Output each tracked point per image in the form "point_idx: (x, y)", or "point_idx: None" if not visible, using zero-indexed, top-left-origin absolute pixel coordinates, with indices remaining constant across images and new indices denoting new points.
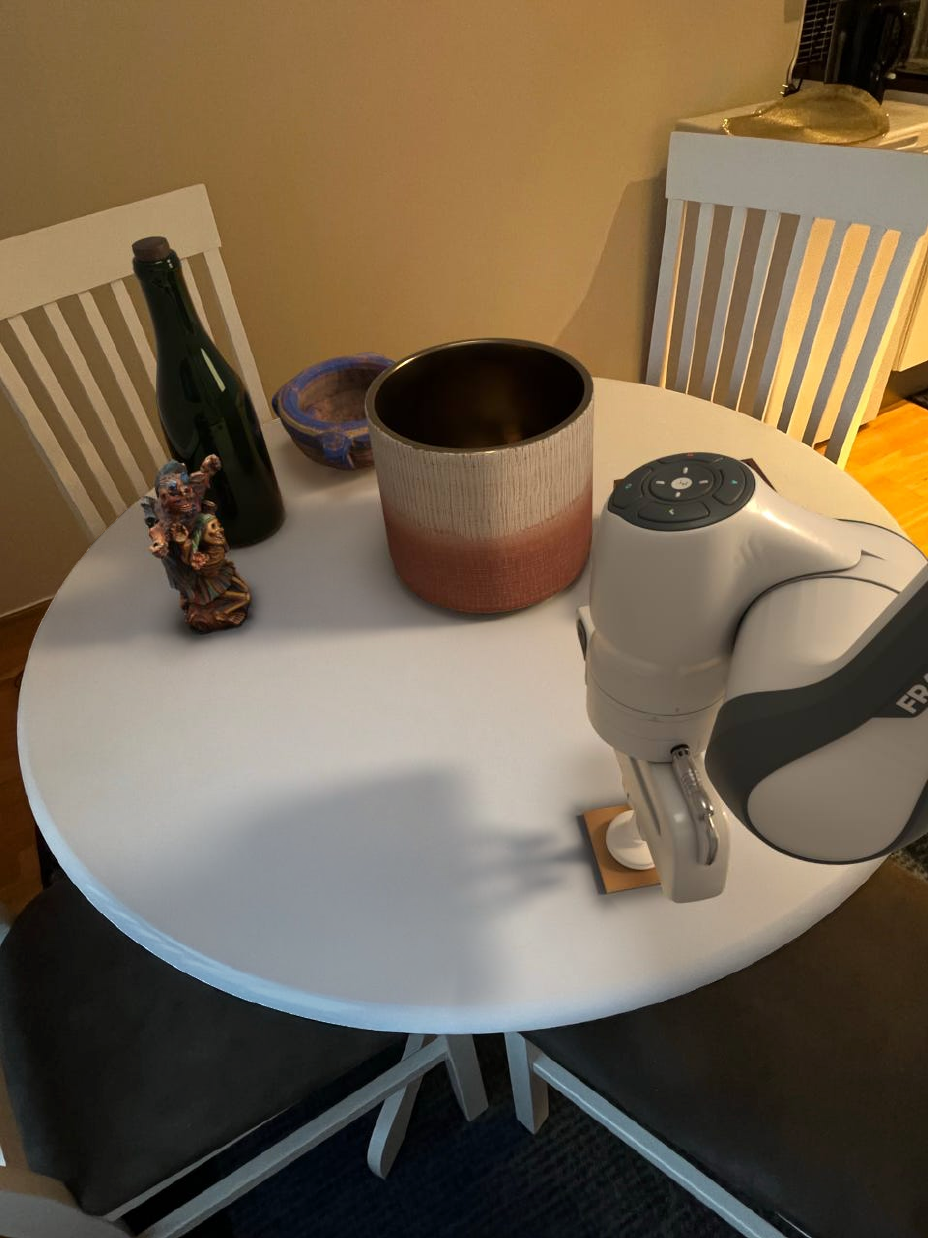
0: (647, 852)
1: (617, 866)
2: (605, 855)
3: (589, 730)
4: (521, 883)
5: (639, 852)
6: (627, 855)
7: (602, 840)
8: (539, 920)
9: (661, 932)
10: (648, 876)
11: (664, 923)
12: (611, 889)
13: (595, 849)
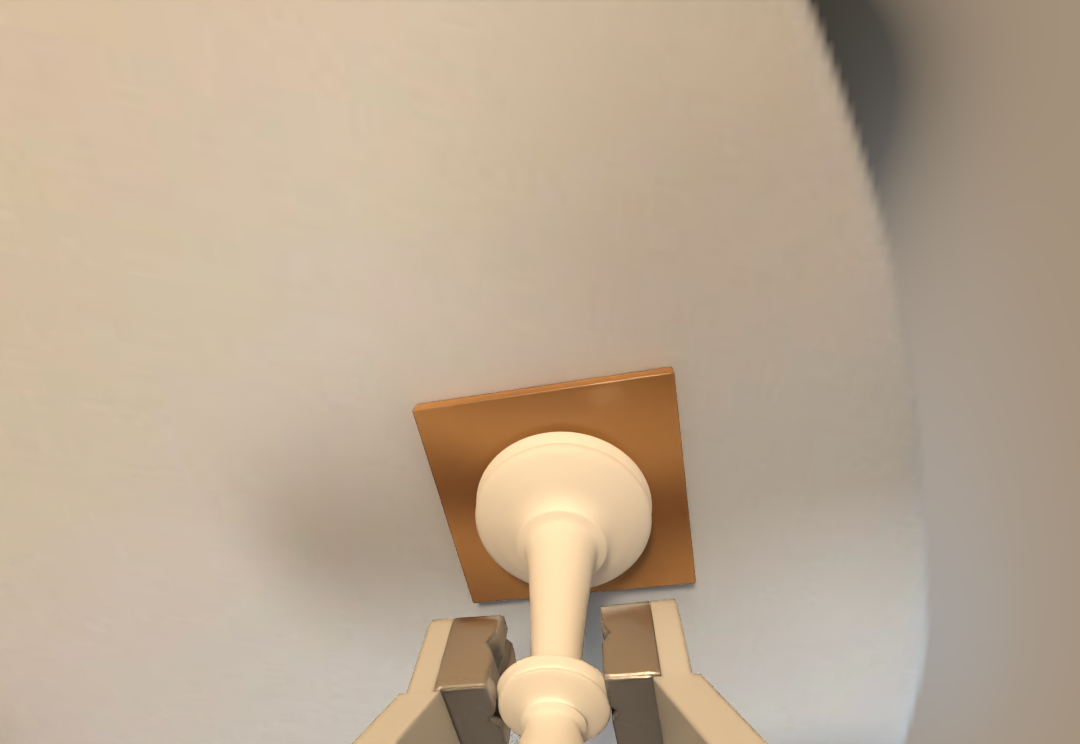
0: (624, 521)
1: None
2: None
3: (216, 553)
4: None
5: (622, 539)
6: (624, 561)
7: None
8: (737, 690)
9: (818, 475)
10: (667, 493)
11: (795, 465)
12: (693, 574)
13: None
